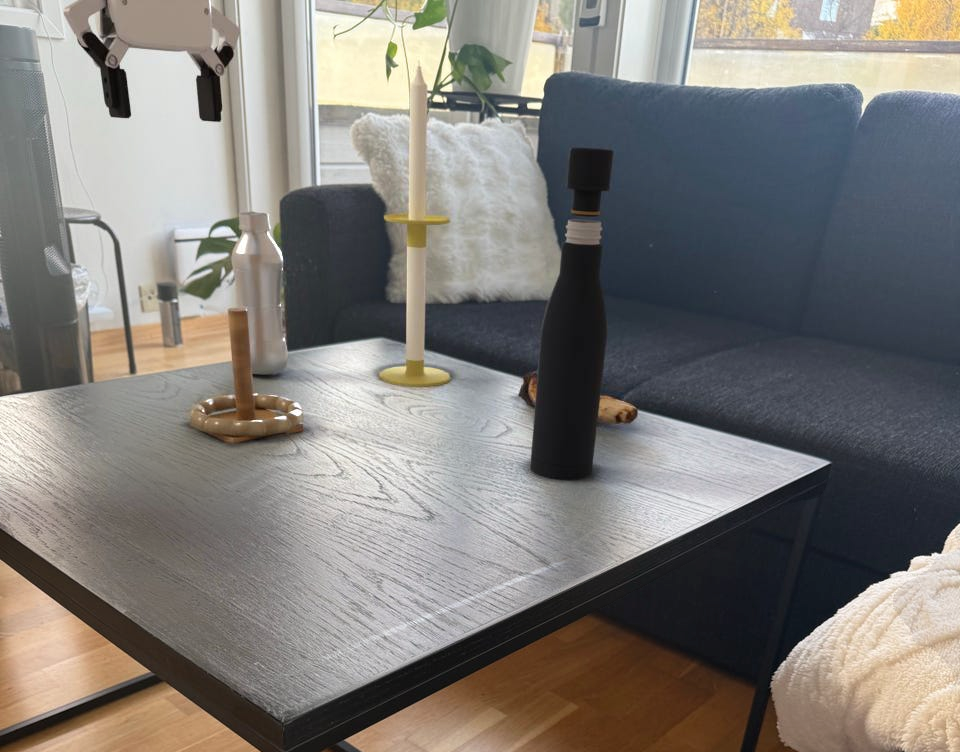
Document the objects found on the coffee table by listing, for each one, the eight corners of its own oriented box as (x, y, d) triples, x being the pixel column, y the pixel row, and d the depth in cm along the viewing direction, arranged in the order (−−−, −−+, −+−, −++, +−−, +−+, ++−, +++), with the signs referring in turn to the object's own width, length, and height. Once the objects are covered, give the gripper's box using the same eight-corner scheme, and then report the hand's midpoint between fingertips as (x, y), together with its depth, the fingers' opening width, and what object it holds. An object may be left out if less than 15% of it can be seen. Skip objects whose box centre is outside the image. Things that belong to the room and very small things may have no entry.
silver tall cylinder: (241, 367, 128) (229, 210, 118) (291, 368, 129) (282, 212, 119) (236, 379, 123) (222, 215, 113) (287, 380, 123) (278, 217, 113)
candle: (462, 375, 130) (474, 64, 112) (429, 390, 122) (436, 58, 104) (401, 365, 134) (403, 62, 115) (365, 379, 126) (360, 56, 107)
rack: (233, 449, 98) (222, 320, 91) (190, 429, 103) (176, 306, 96) (304, 434, 103) (298, 312, 97) (259, 416, 109) (250, 298, 102)
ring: (228, 445, 95) (226, 429, 94) (170, 417, 103) (168, 402, 102) (324, 425, 103) (324, 410, 102) (264, 400, 110) (263, 387, 109)
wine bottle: (520, 477, 94) (544, 146, 79) (543, 460, 99) (570, 146, 85) (579, 489, 92) (615, 151, 77) (599, 470, 97) (637, 150, 82)
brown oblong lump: (487, 412, 116) (601, 443, 105) (488, 374, 114) (604, 403, 103) (536, 397, 122) (648, 426, 111) (537, 361, 120) (652, 387, 109)
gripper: (208, -79, 90) (223, 121, 99) (29, -113, 79) (64, 114, 88) (250, -86, 86) (263, 124, 94) (66, -124, 75) (99, 117, 83)
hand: (167, 119), depth 91 cm, fingers open, 9 cm apart
